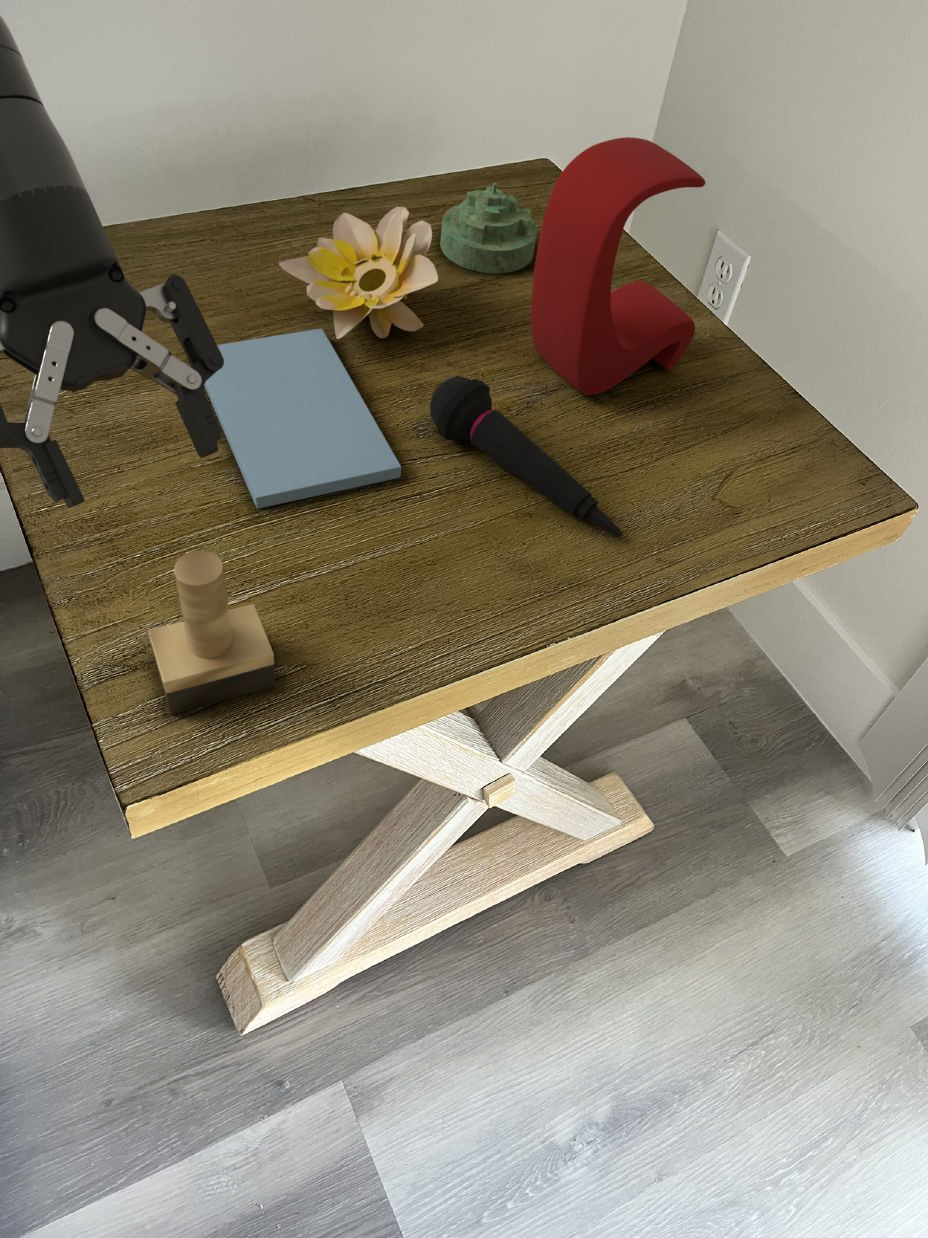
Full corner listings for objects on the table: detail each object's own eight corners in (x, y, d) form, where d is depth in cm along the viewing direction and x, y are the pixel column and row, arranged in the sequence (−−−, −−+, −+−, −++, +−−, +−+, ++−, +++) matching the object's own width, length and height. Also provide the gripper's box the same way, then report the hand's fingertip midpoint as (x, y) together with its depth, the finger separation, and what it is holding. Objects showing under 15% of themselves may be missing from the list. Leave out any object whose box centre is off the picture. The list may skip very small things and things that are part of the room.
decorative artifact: (517, 221, 109) (430, 225, 106) (526, 158, 103) (435, 161, 101) (545, 270, 103) (453, 276, 100) (557, 206, 97) (460, 210, 95)
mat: (256, 509, 76) (255, 497, 75) (193, 360, 87) (191, 348, 86) (400, 477, 80) (401, 466, 79) (322, 338, 91) (322, 327, 90)
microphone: (618, 552, 81) (445, 413, 87) (653, 499, 78) (471, 357, 83) (586, 571, 77) (407, 424, 83) (622, 516, 74) (432, 365, 79)
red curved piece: (562, 408, 88) (608, 191, 73) (516, 363, 92) (551, 148, 76) (685, 366, 94) (752, 158, 79) (637, 325, 98) (692, 119, 83)
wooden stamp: (171, 716, 63) (146, 609, 55) (155, 663, 66) (129, 554, 58) (276, 686, 66) (267, 580, 58) (257, 636, 68) (246, 528, 60)
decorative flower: (262, 259, 95) (283, 160, 89) (365, 265, 101) (392, 174, 95) (317, 356, 88) (346, 257, 81) (425, 357, 94) (460, 264, 87)
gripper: (-113, 215, 49) (36, 518, 52) (153, 155, 55) (270, 428, 59) (-112, 262, 55) (21, 529, 59) (126, 204, 62) (233, 447, 65)
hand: (145, 478), depth 59 cm, fingers open, 8 cm apart
